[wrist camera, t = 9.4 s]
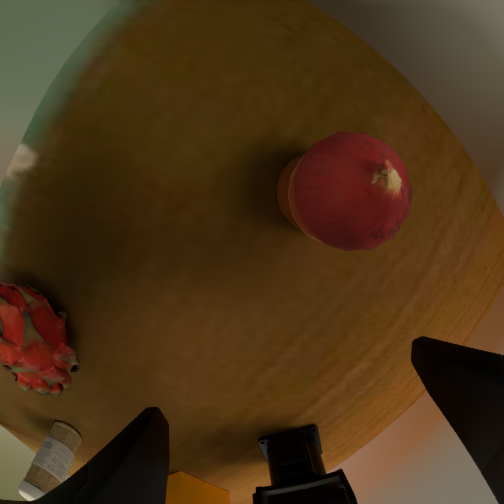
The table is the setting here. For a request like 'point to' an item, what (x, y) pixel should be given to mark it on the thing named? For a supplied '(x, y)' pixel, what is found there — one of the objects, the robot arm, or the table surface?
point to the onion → (352, 191)
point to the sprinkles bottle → (51, 462)
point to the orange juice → (193, 491)
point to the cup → (291, 196)
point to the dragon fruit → (34, 341)
